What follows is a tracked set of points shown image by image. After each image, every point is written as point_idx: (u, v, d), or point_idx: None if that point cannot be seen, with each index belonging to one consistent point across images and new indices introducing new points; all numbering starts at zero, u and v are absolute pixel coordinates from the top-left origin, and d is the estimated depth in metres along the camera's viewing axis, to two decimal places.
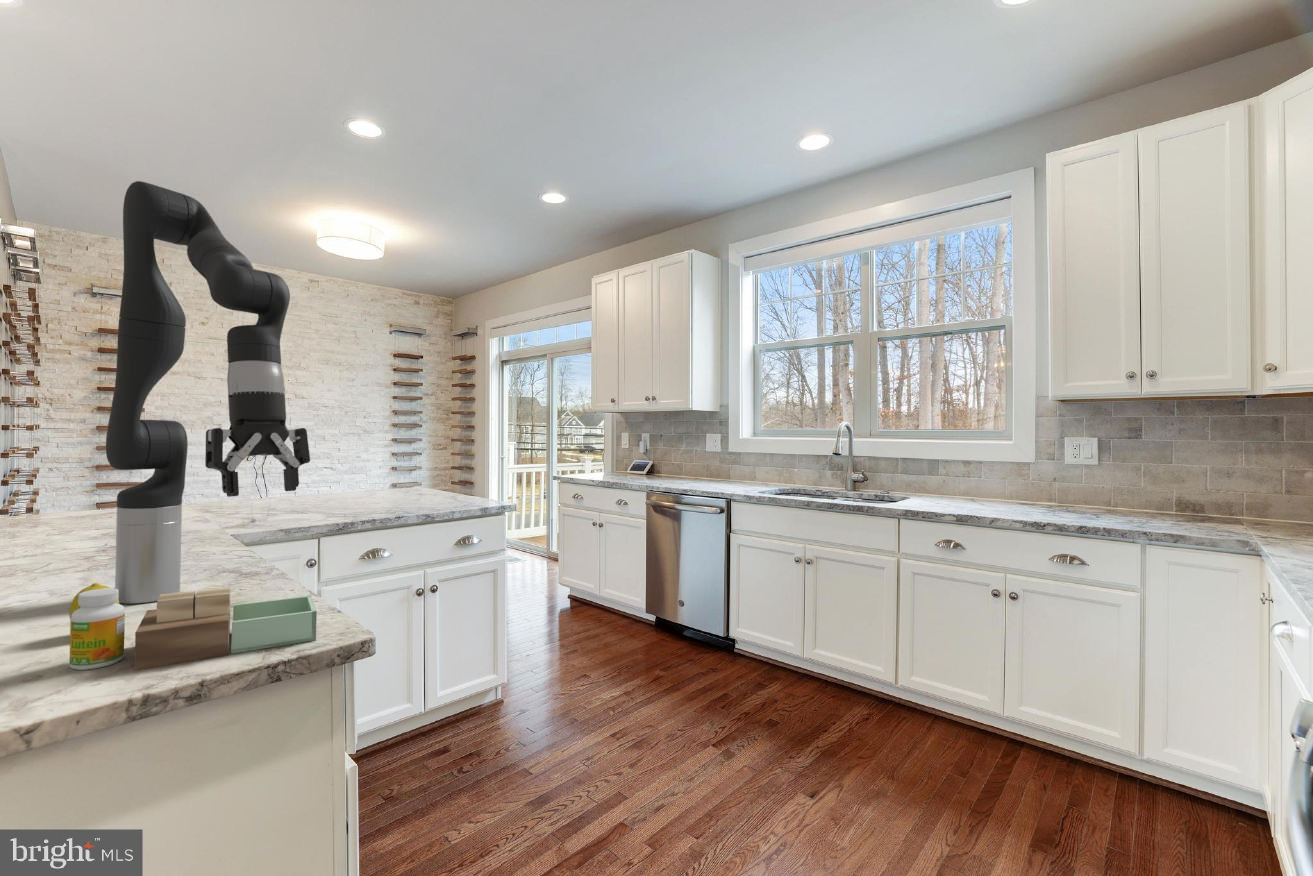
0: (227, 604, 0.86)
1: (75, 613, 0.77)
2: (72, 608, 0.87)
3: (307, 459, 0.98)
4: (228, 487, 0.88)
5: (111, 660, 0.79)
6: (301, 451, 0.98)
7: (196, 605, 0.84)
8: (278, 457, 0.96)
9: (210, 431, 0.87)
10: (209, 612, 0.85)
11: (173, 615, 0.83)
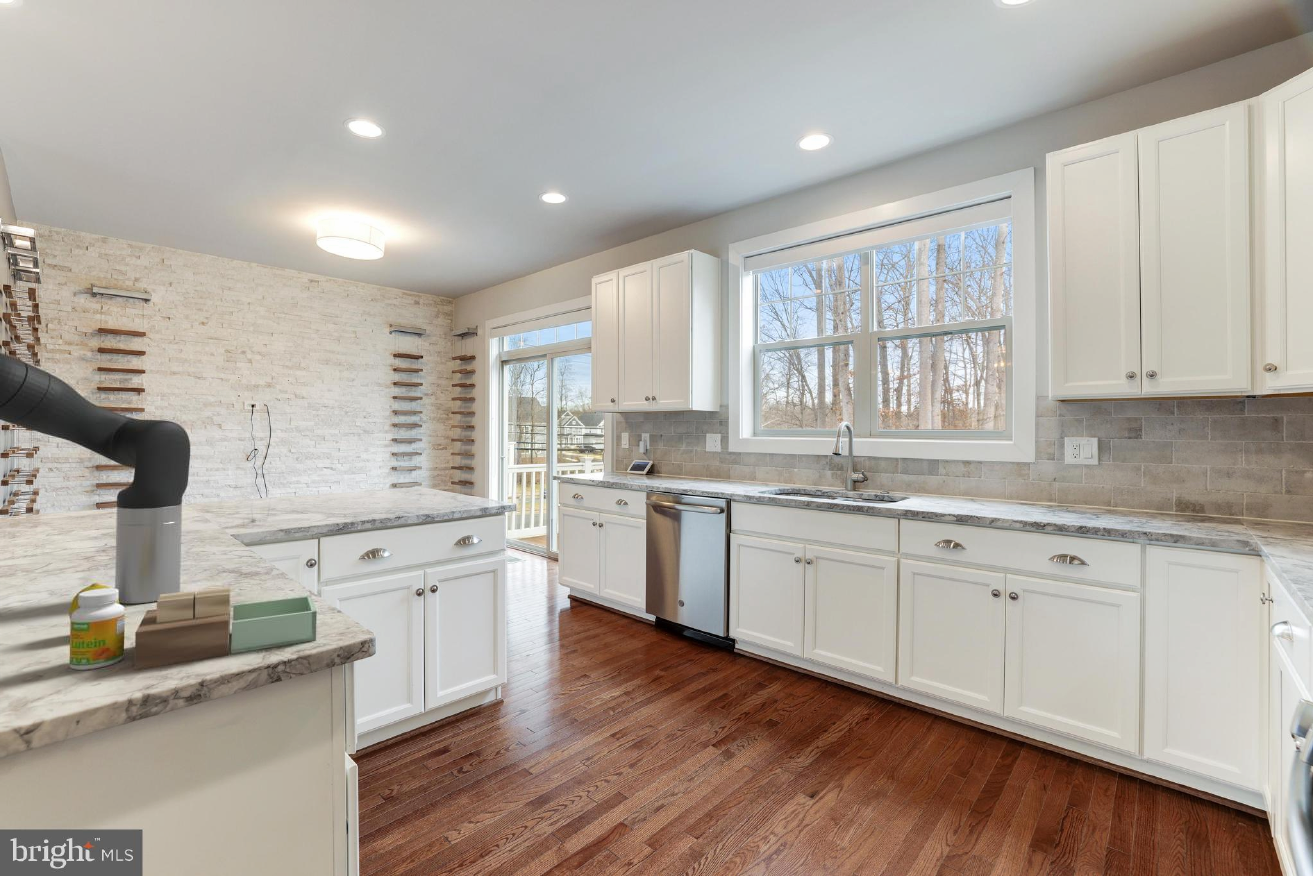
0: (227, 604, 0.86)
1: (75, 613, 0.77)
2: (72, 608, 0.87)
3: None
4: None
5: (111, 660, 0.79)
6: None
7: (196, 605, 0.84)
8: None
9: None
10: (209, 612, 0.85)
11: (173, 615, 0.83)
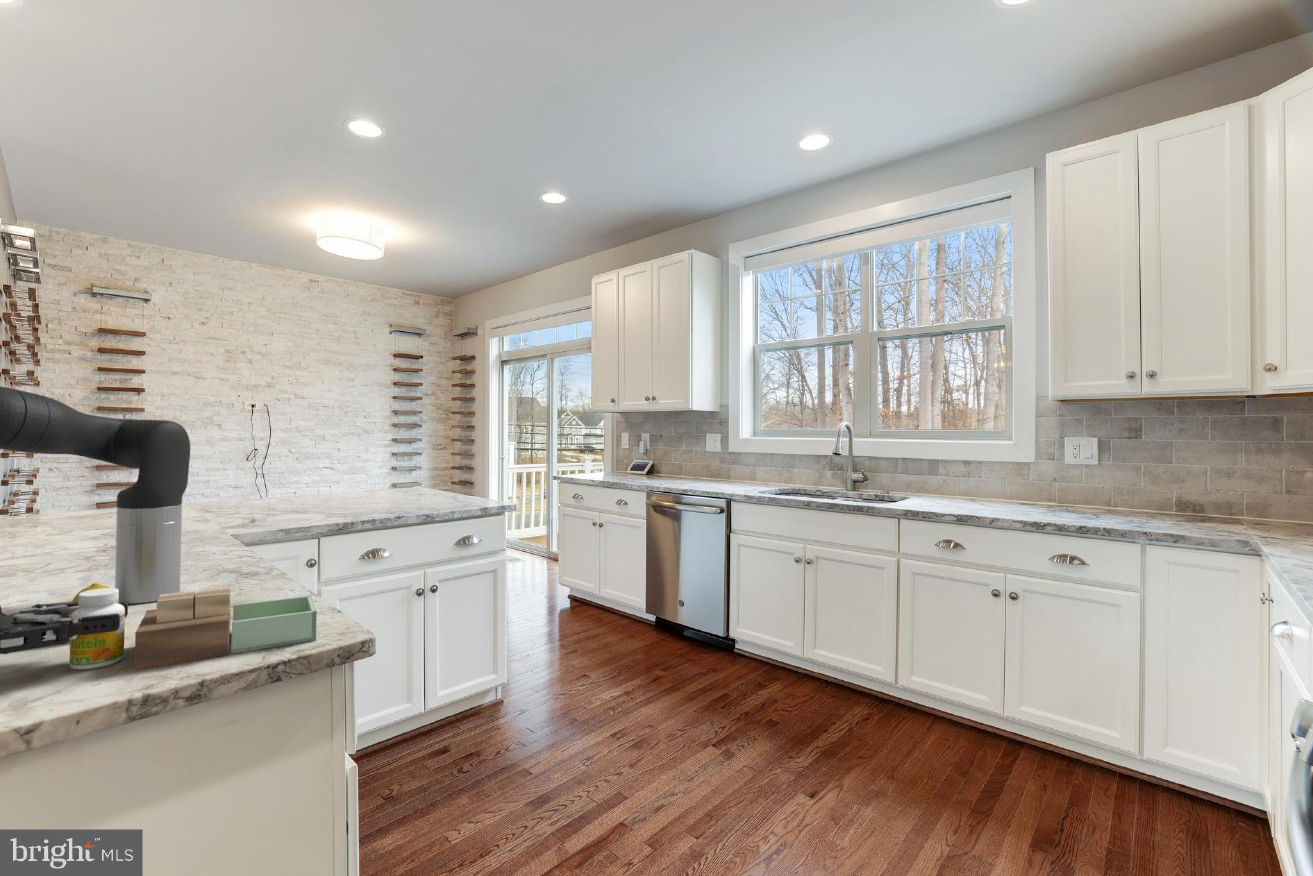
0: (227, 604, 0.86)
1: (75, 613, 0.77)
2: None
3: (62, 643, 0.74)
4: None
5: (111, 660, 0.79)
6: None
7: (196, 605, 0.84)
8: None
9: None
10: (209, 612, 0.85)
11: (173, 615, 0.83)
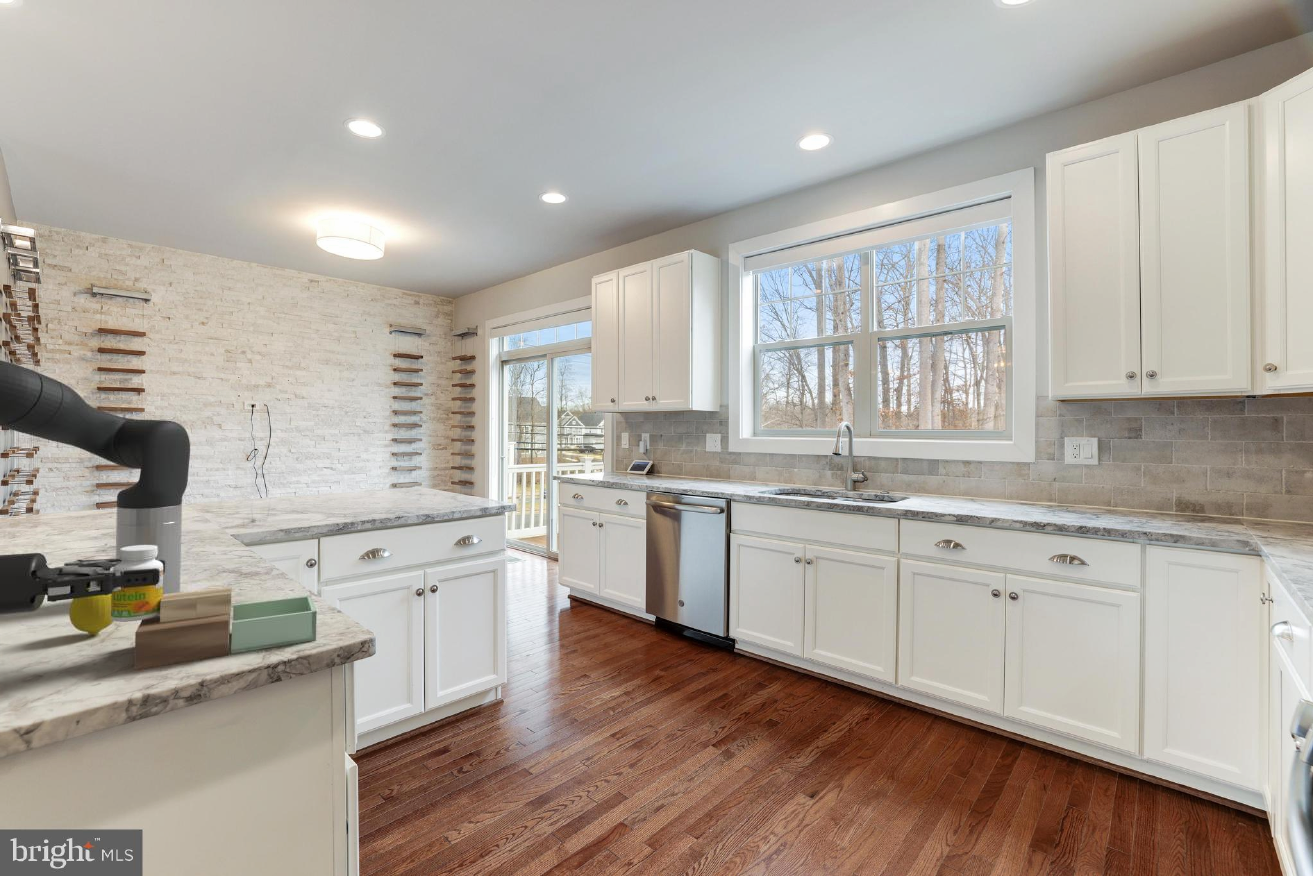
0: (229, 604, 0.86)
1: (117, 567, 0.80)
2: (72, 608, 0.87)
3: (106, 594, 0.76)
4: None
5: (150, 613, 0.81)
6: None
7: (198, 605, 0.84)
8: None
9: None
10: (210, 612, 0.85)
11: (177, 615, 0.83)
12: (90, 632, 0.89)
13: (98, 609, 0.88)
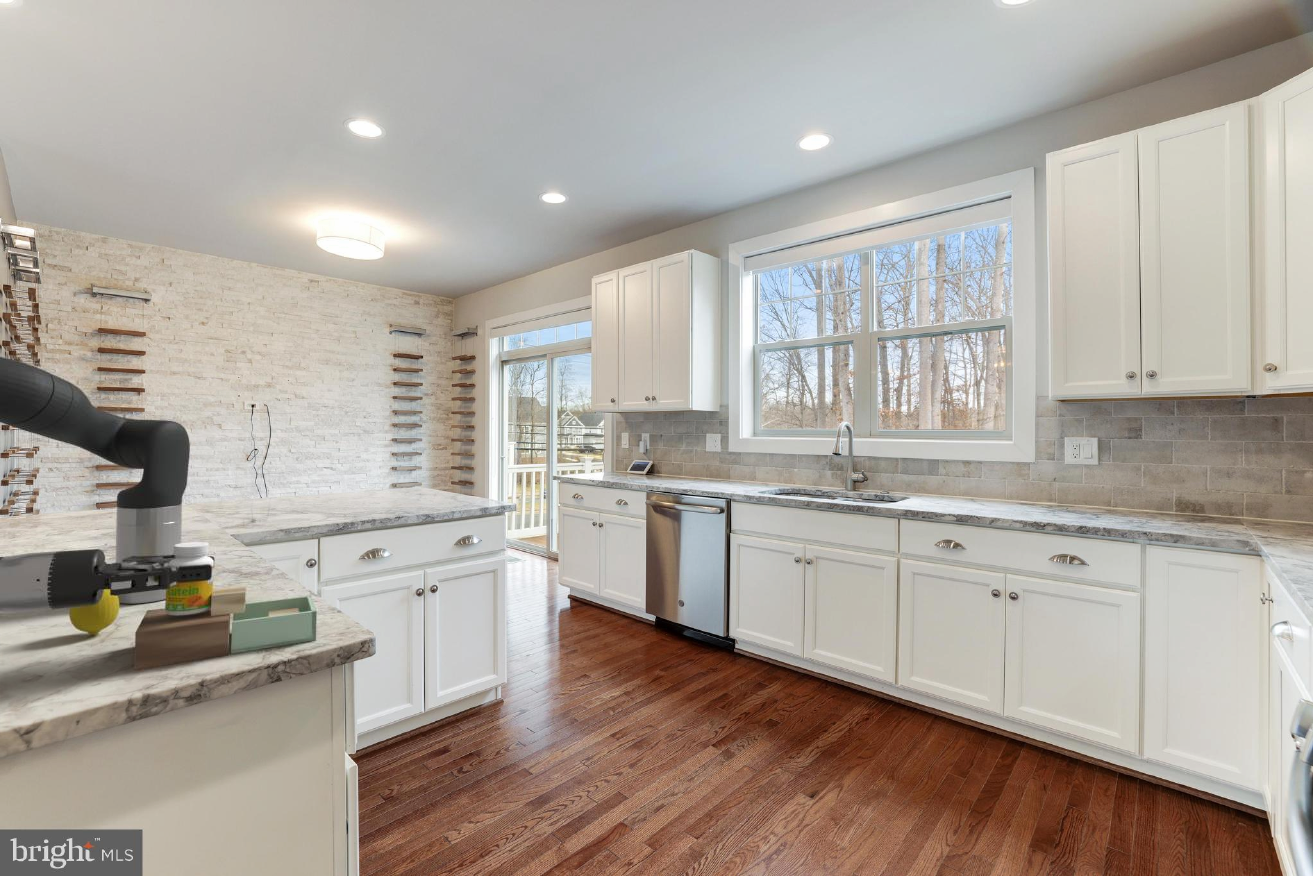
0: None
1: (171, 562, 0.83)
2: (72, 608, 0.87)
3: (164, 589, 0.79)
4: None
5: (203, 608, 0.84)
6: None
7: None
8: None
9: None
10: None
11: (226, 609, 0.86)
12: (90, 632, 0.89)
13: (98, 609, 0.88)
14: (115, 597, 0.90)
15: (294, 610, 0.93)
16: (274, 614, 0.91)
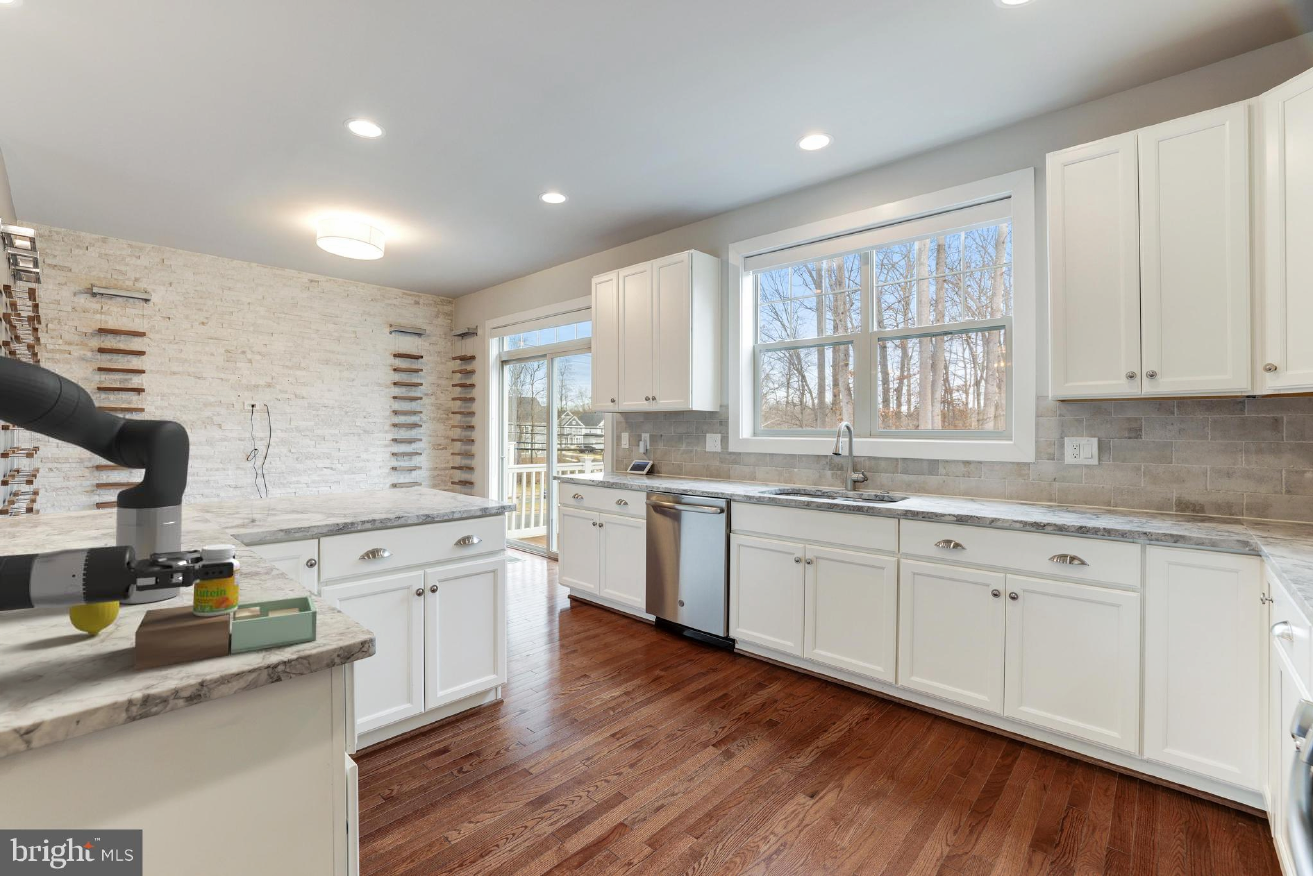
0: None
1: None
2: (72, 608, 0.87)
3: (187, 586, 0.80)
4: None
5: (229, 609, 0.86)
6: None
7: None
8: None
9: None
10: None
11: None
12: (90, 632, 0.89)
13: (98, 609, 0.88)
14: None
15: (294, 610, 0.93)
16: (274, 614, 0.91)
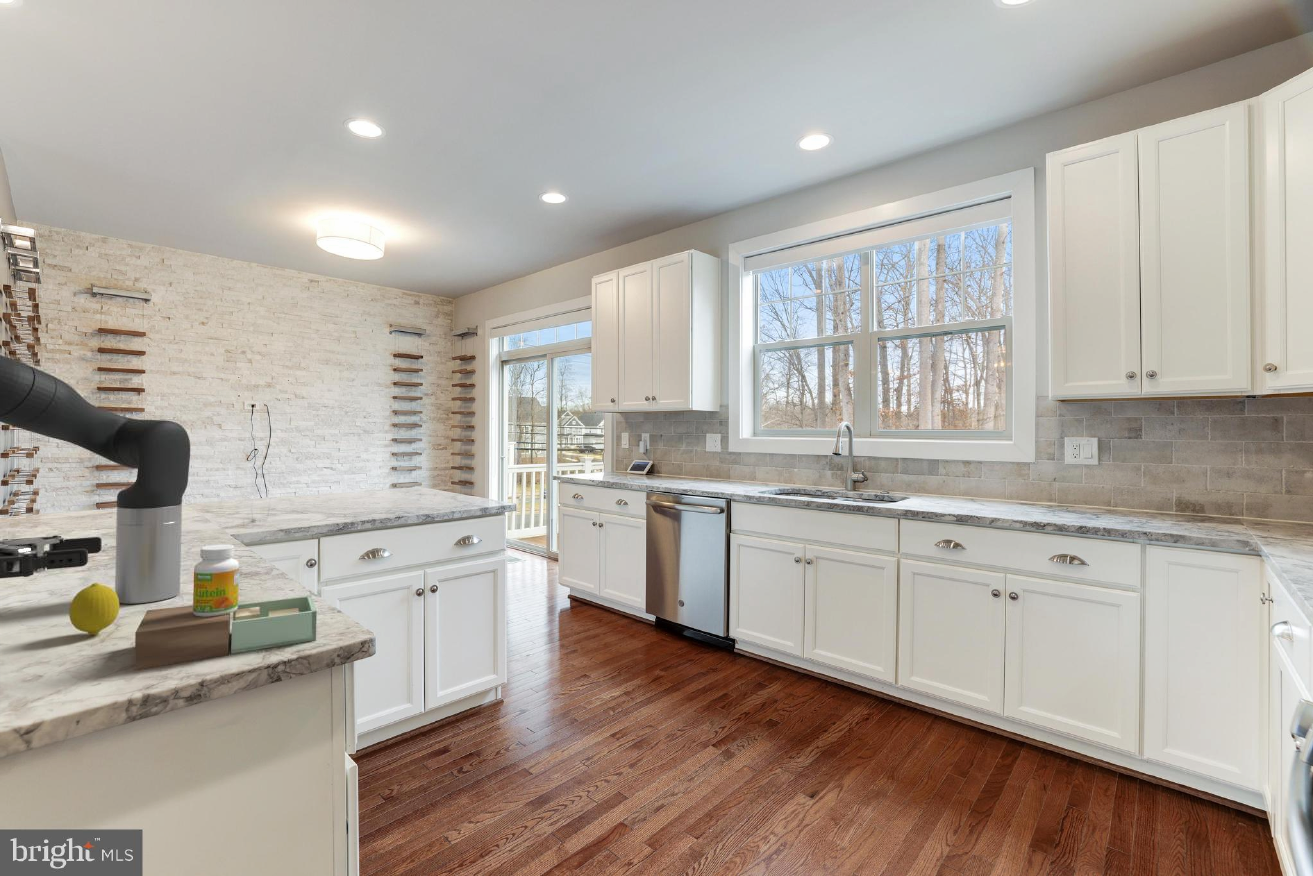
0: None
1: (198, 565, 0.85)
2: (72, 608, 0.87)
3: (26, 576, 0.71)
4: None
5: (229, 609, 0.86)
6: None
7: None
8: None
9: None
10: None
11: None
12: (90, 632, 0.89)
13: (98, 609, 0.88)
14: (115, 597, 0.90)
15: (294, 610, 0.93)
16: (274, 614, 0.91)
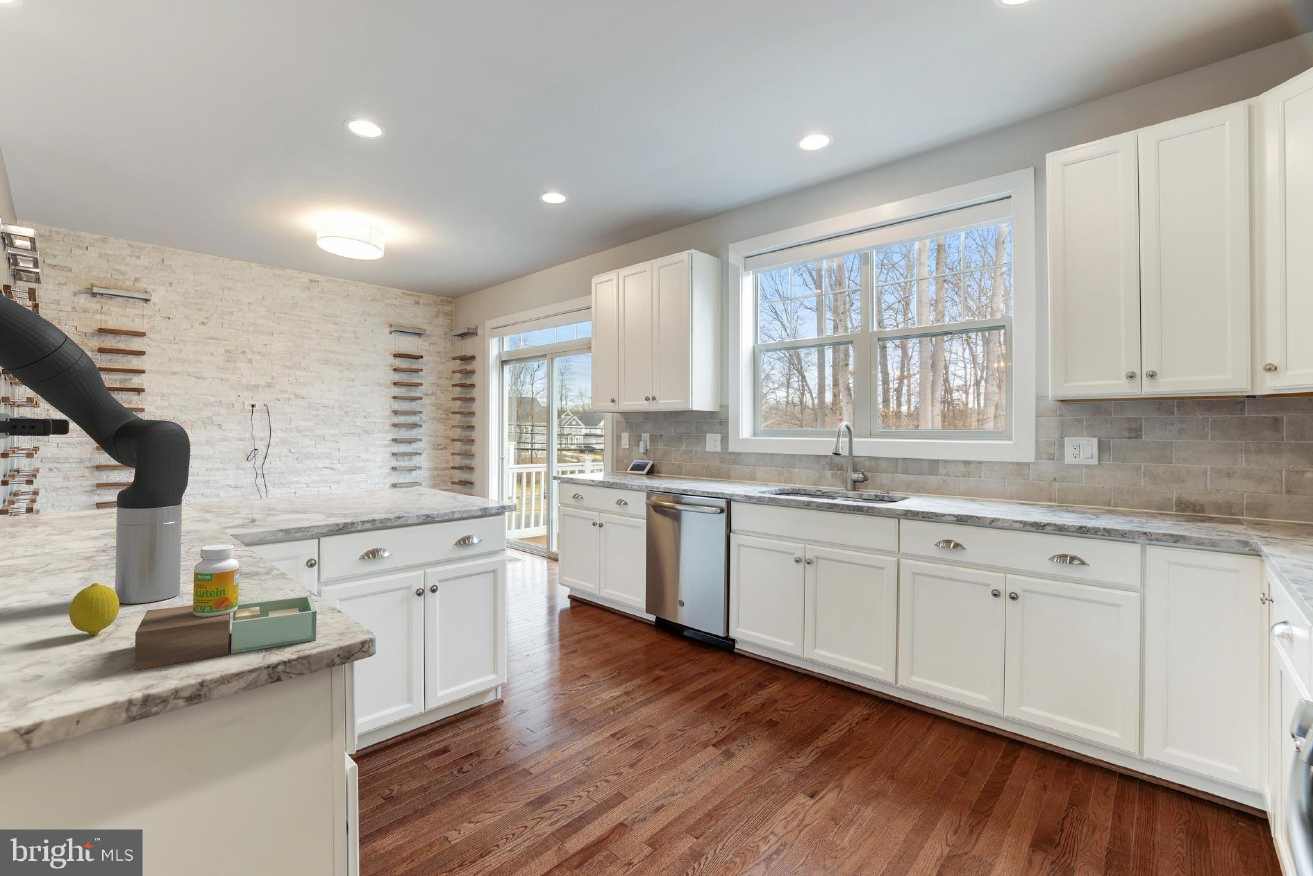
0: None
1: (198, 565, 0.85)
2: (72, 608, 0.87)
3: None
4: None
5: (229, 609, 0.86)
6: None
7: None
8: None
9: None
10: None
11: None
12: (90, 632, 0.89)
13: (98, 609, 0.88)
14: (115, 597, 0.90)
15: (294, 610, 0.93)
16: (274, 614, 0.91)
